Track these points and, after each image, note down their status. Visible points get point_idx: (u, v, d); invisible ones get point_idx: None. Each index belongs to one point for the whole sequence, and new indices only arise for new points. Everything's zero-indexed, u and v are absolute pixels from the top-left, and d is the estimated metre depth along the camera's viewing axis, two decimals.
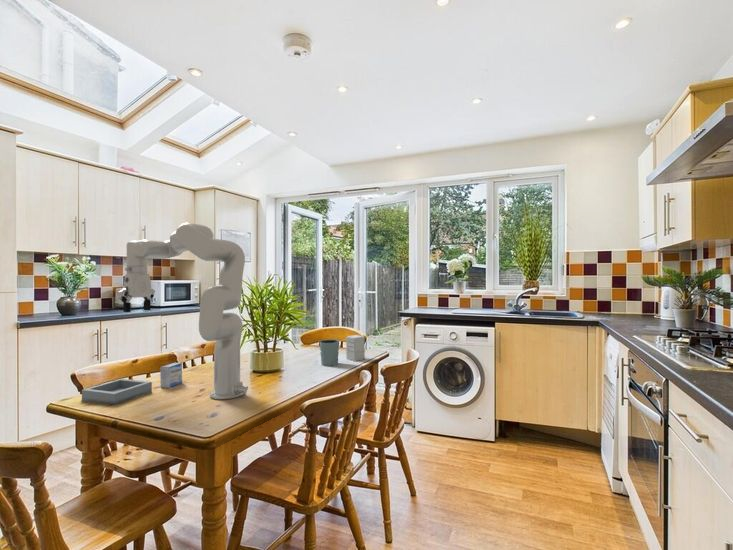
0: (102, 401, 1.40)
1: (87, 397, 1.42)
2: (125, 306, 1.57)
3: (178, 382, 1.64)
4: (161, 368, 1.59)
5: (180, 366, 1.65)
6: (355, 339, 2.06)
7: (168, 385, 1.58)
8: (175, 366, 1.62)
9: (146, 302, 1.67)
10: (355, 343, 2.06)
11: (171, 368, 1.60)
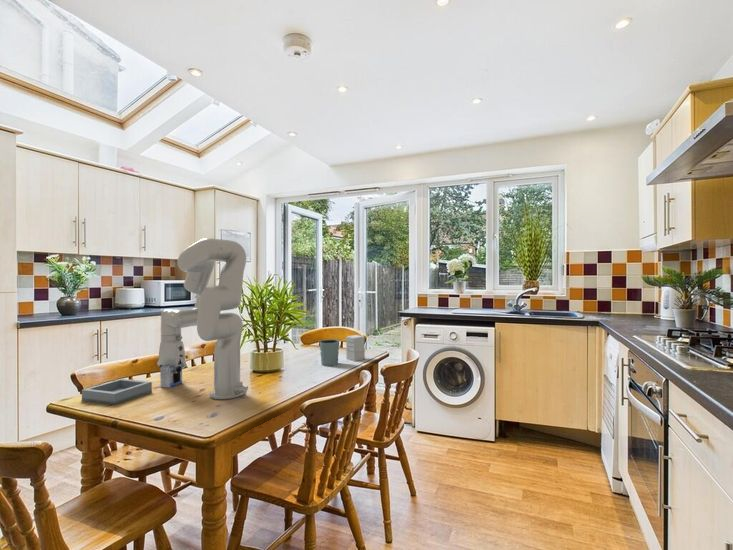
0: (102, 401, 1.40)
1: (87, 397, 1.42)
2: (179, 376, 1.62)
3: (178, 382, 1.64)
4: (161, 368, 1.59)
5: None
6: (355, 339, 2.06)
7: (168, 385, 1.58)
8: None
9: None
10: (355, 343, 2.06)
11: (171, 368, 1.60)
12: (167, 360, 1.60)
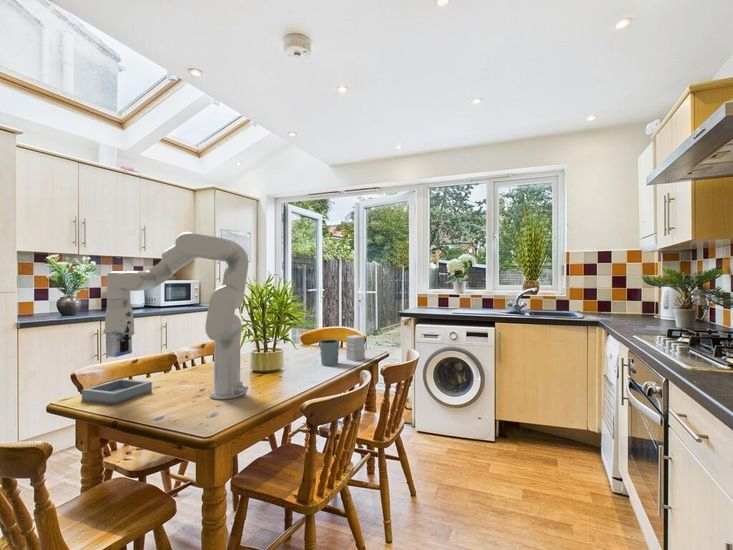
0: (102, 401, 1.40)
1: (87, 397, 1.42)
2: (127, 345, 1.47)
3: (127, 352, 1.49)
4: (106, 335, 1.45)
5: None
6: (355, 339, 2.06)
7: (114, 354, 1.44)
8: None
9: None
10: (355, 343, 2.06)
11: (117, 335, 1.45)
12: (113, 327, 1.46)
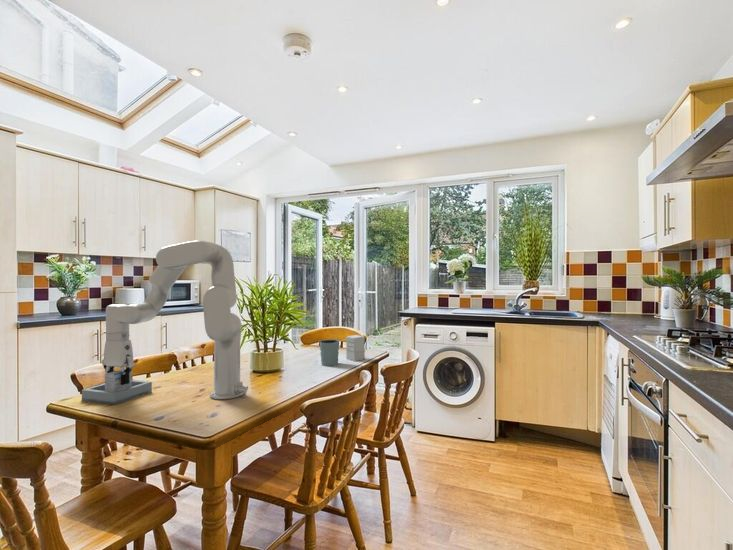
0: (102, 401, 1.40)
1: (87, 397, 1.42)
2: (127, 377, 1.47)
3: None
4: (105, 375, 1.45)
5: (129, 373, 1.50)
6: (355, 339, 2.06)
7: None
8: None
9: None
10: (355, 343, 2.06)
11: (116, 375, 1.45)
12: (112, 360, 1.46)
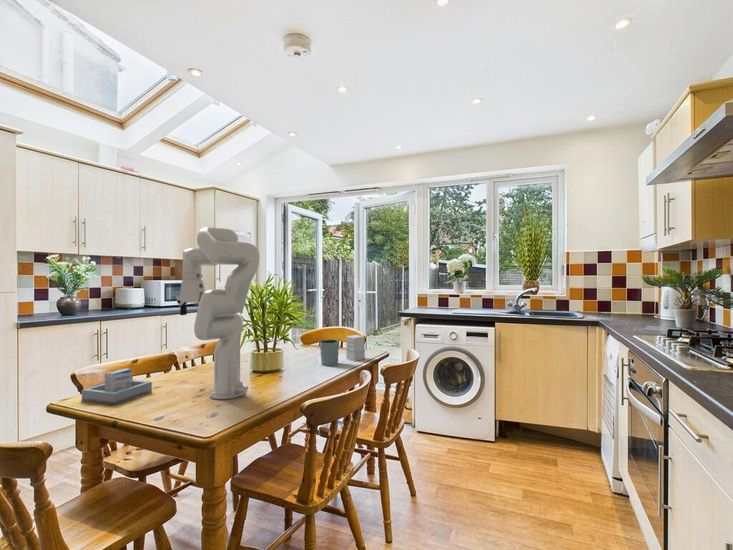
0: (102, 401, 1.40)
1: (87, 397, 1.42)
2: None
3: None
4: (105, 375, 1.45)
5: (129, 373, 1.50)
6: (355, 339, 2.06)
7: None
8: (122, 373, 1.47)
9: (184, 307, 1.74)
10: (355, 343, 2.06)
11: (116, 375, 1.45)
12: (188, 297, 1.71)
